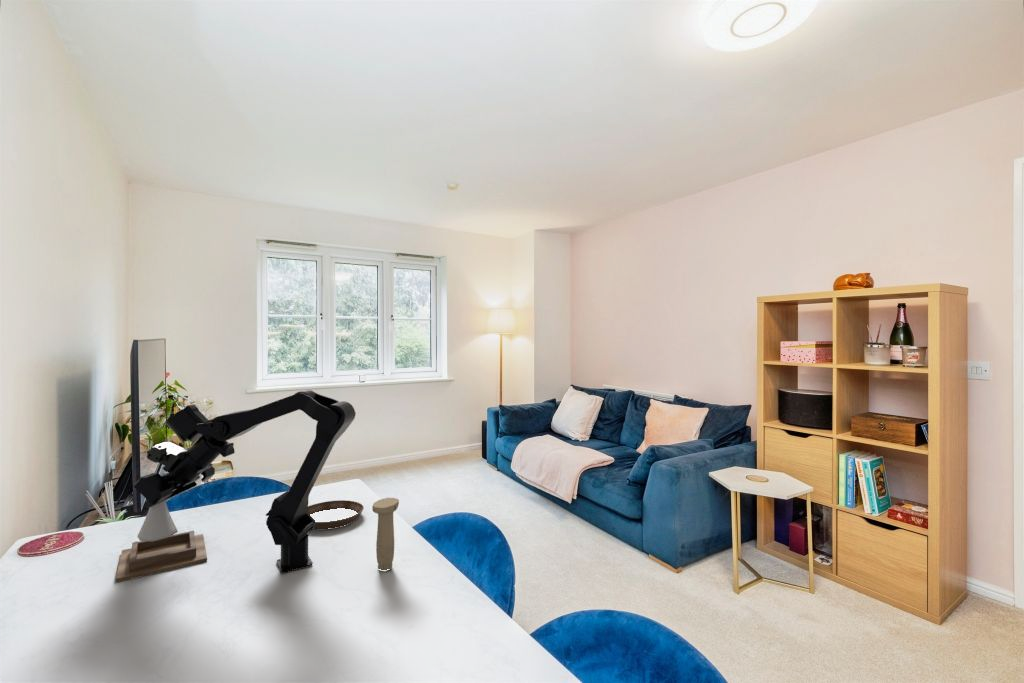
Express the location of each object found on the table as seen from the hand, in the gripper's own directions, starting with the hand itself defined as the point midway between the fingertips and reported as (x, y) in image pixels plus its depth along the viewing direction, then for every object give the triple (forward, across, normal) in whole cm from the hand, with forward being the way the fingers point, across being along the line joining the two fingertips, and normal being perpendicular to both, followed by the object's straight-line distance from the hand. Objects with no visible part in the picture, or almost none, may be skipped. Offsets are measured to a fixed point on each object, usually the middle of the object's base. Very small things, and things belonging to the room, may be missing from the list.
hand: (152, 503), depth 106 cm
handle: (-28, +2, +48) cm, 56 cm away
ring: (-12, -26, +32) cm, 43 cm away
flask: (+4, 0, +6) cm, 8 cm away
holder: (+9, -2, +10) cm, 13 cm away
